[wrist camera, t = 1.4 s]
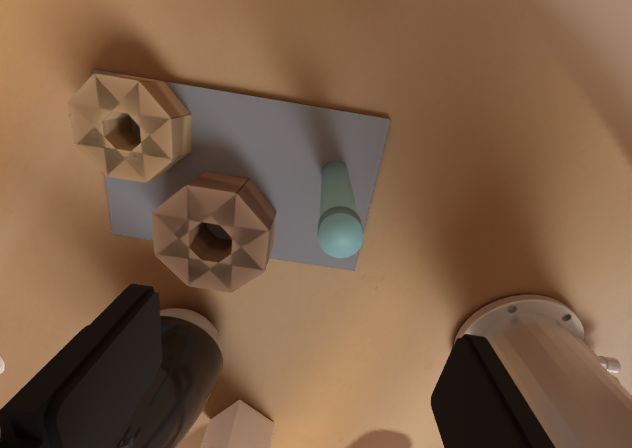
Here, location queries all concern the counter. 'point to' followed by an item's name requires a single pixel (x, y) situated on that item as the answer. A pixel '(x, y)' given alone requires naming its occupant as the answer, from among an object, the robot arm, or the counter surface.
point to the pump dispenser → (176, 382)
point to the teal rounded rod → (338, 213)
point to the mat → (262, 165)
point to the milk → (238, 428)
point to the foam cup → (1, 365)
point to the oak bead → (130, 126)
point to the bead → (202, 245)
